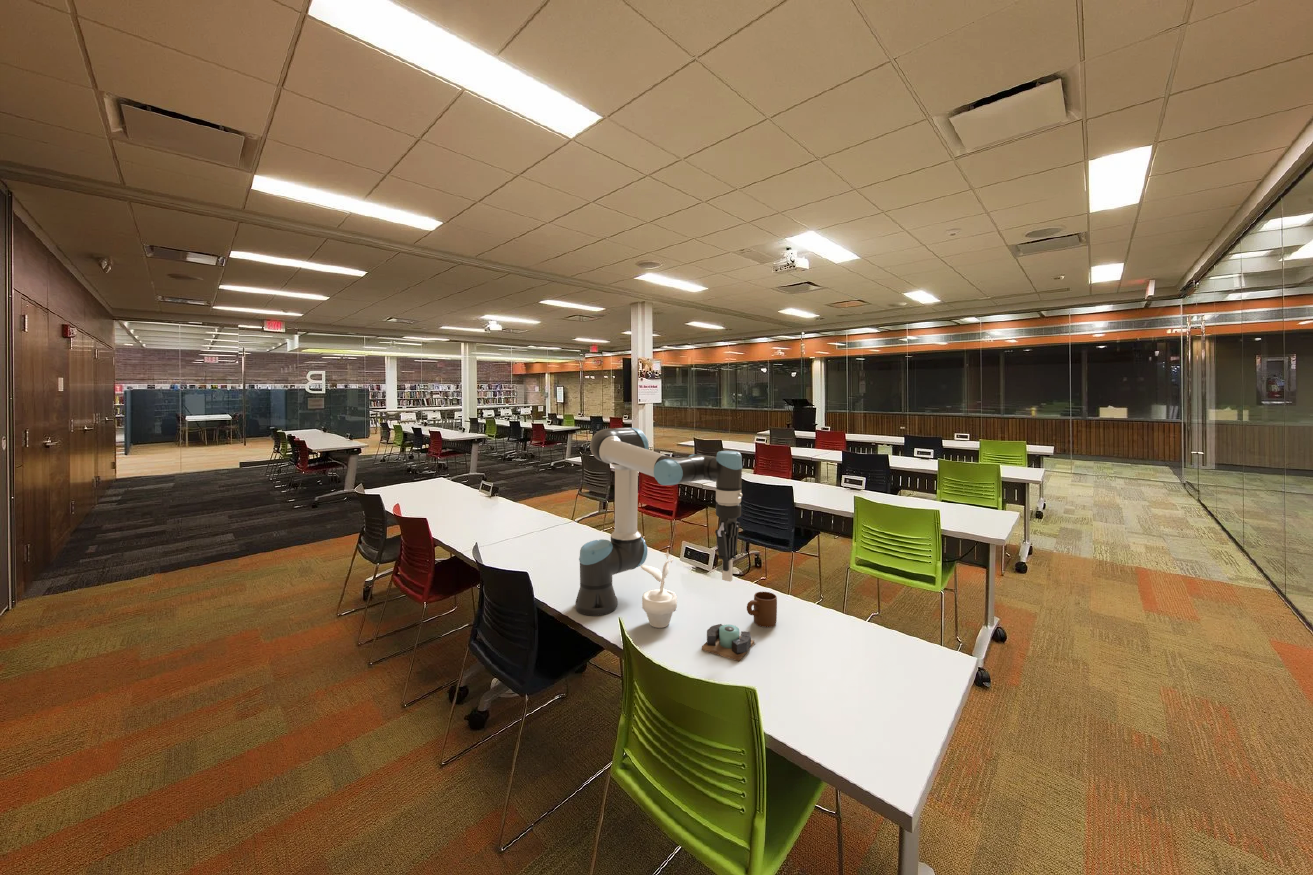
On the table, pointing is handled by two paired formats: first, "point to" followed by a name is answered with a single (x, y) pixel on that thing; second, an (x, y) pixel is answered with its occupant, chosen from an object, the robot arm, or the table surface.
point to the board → (725, 650)
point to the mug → (764, 609)
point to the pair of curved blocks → (737, 645)
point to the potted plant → (659, 598)
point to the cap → (728, 635)
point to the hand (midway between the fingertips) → (727, 579)
